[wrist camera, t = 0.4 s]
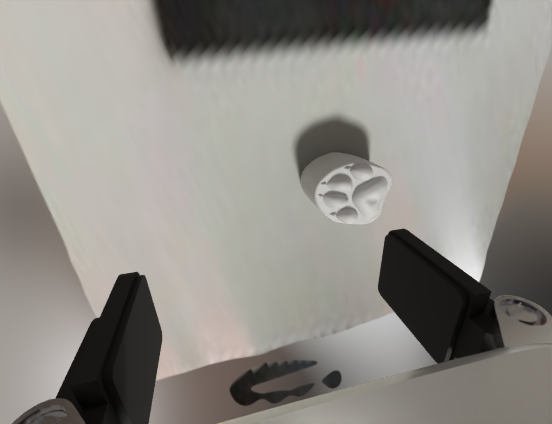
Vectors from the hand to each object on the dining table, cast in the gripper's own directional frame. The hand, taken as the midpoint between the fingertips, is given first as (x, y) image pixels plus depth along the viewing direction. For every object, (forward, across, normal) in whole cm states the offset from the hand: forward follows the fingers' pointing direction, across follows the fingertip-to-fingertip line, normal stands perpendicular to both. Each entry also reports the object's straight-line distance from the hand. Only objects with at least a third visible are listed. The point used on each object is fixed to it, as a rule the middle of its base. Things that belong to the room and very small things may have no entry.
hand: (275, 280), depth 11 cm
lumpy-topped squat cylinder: (+37, -19, +10) cm, 42 cm away
